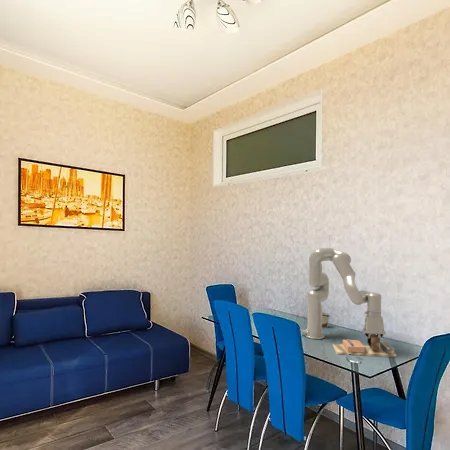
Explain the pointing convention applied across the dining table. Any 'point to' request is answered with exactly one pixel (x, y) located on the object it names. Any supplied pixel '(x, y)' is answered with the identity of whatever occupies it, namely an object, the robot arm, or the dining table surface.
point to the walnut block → (374, 342)
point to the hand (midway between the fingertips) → (373, 344)
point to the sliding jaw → (353, 346)
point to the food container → (325, 320)
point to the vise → (368, 350)
